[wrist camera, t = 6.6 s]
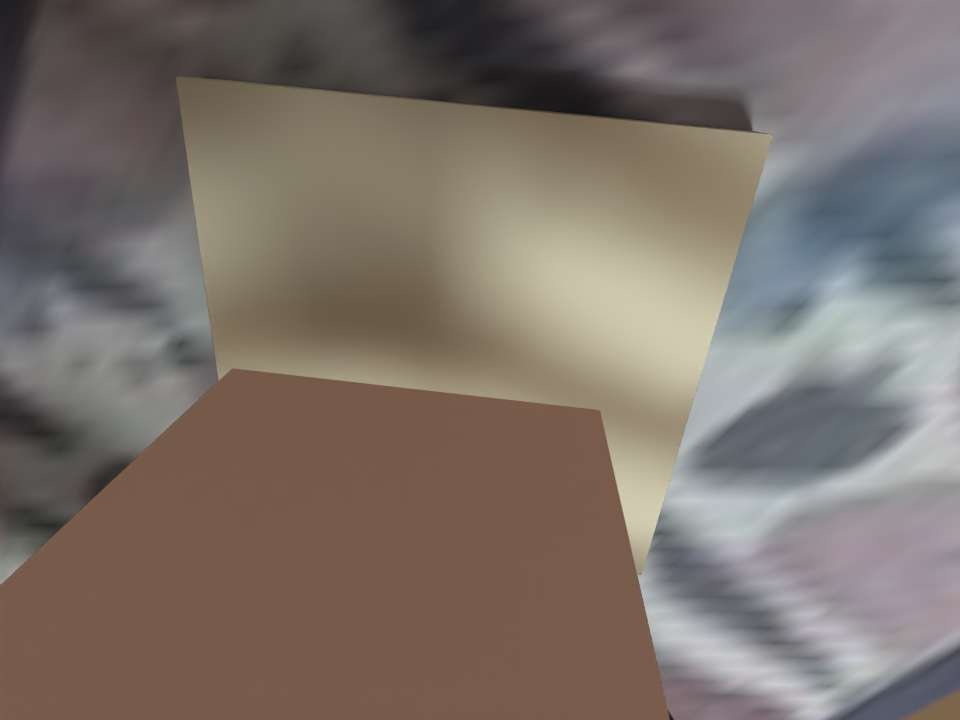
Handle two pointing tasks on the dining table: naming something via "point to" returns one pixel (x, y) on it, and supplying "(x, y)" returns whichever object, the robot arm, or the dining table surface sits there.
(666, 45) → the dining table surface
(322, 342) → the birch board
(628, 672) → the terracotta cube
